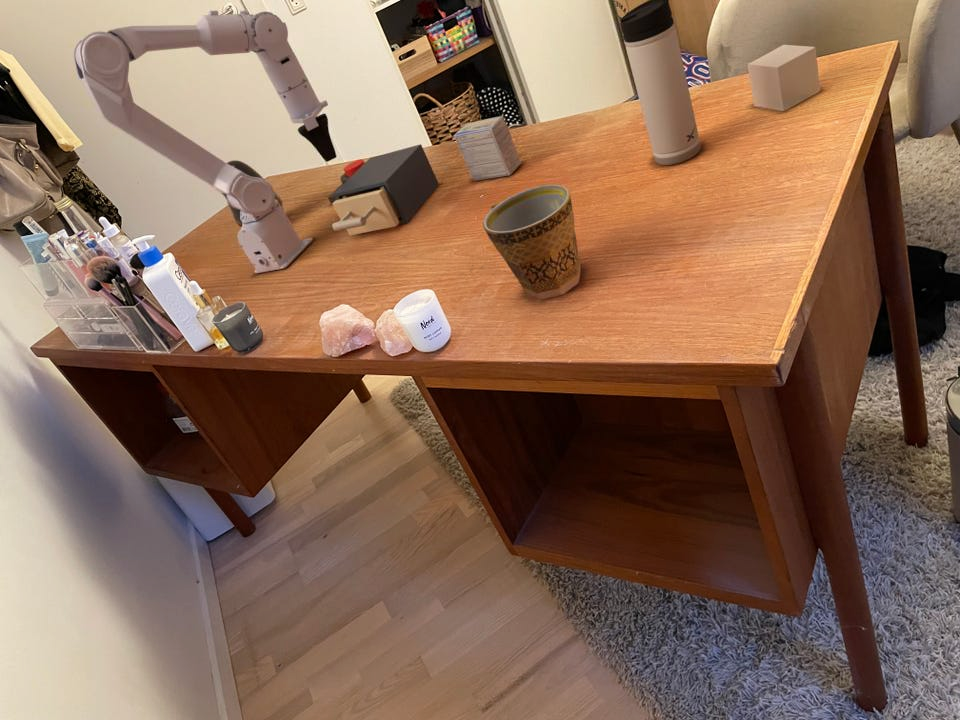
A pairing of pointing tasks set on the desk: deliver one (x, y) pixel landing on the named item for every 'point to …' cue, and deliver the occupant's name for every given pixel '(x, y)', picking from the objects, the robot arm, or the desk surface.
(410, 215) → the cabinet
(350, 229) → the drawer
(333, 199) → the button block
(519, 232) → the ceramic cup
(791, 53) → the pinkish grey cube
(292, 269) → the desk surface
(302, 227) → the desk surface
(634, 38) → the travel mug
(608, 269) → the desk surface
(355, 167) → the button
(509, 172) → the paper stack
